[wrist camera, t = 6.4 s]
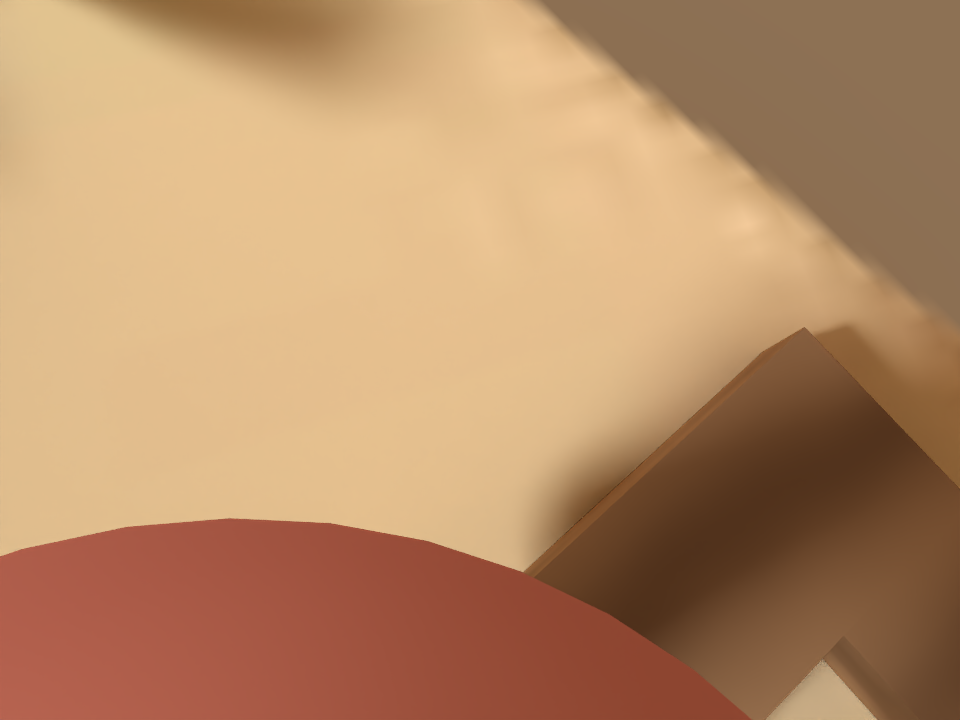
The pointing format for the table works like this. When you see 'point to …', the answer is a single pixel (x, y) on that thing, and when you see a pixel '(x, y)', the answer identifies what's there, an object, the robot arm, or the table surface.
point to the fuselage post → (314, 633)
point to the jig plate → (784, 545)
